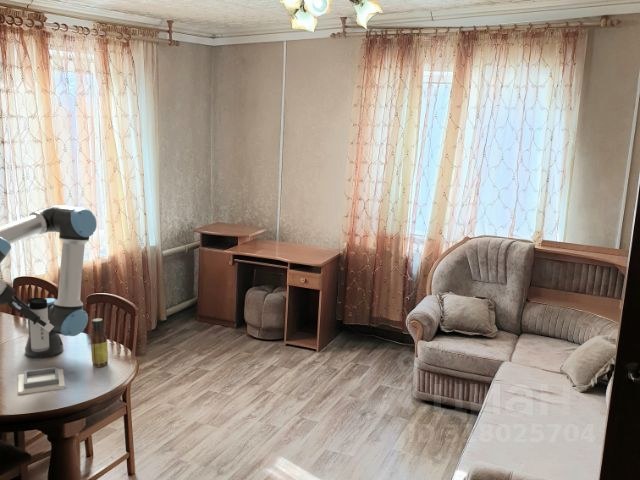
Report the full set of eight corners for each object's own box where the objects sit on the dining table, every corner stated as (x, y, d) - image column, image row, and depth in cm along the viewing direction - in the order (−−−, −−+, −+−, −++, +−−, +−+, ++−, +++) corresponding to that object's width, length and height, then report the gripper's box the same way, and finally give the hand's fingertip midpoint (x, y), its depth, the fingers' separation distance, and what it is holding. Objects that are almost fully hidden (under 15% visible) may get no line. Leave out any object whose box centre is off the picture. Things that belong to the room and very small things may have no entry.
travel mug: (34, 345, 231) (31, 296, 227) (51, 345, 232) (49, 296, 228) (27, 351, 225) (25, 301, 221) (45, 352, 226) (43, 301, 222)
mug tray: (18, 376, 235) (18, 369, 234) (62, 371, 242) (62, 364, 241) (18, 394, 221) (17, 387, 220) (65, 387, 228) (64, 380, 227)
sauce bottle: (111, 363, 251) (110, 318, 247) (101, 369, 246) (99, 323, 241) (98, 360, 253) (97, 316, 249) (88, 366, 248) (86, 320, 244)
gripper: (-14, 292, 222) (36, 326, 235) (-5, 306, 207) (48, 342, 220) (1, 277, 224) (50, 311, 237) (11, 290, 209) (62, 326, 222)
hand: (49, 326), depth 229 cm, fingers closed on travel mug, 6 cm apart
